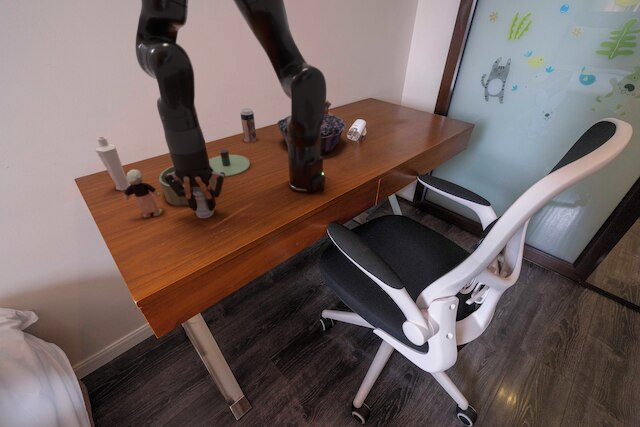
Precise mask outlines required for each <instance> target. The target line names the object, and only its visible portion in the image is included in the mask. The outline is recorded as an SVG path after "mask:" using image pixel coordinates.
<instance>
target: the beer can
mask: <svg viewBox="0 0 640 427" xmlns="http://www.w3.org/2000/svg"><path fill="white" fill-rule="evenodd" d="M239 114H240V120H241V128H242V134H243V140H244V142H247V143H253V142H256V141H257V131H256V123H255V116H254V114H255V113H254V111H253V109H252V108H243V109H241V110H240V113H239Z"/></svg>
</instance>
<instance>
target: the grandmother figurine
mask: <svg viewBox="0 0 640 427" xmlns="http://www.w3.org/2000/svg"><path fill="white" fill-rule="evenodd" d="M126 178H127V181H128V182H129V183H130V186H129V187H128V188H127V189H125V190H124V191H123V194H124V197H123V198H124V200H125V201H128V200H130V196H132V195H134V197H135V201H136V203H137V206H138V207H139V209H140V211H141V213H142V216H143V218H144V219H148V218H150V217H151V216H153V217H159V216H160V215H161V214H162V213H163V209H162V208H159V206H158V204H157V202H156V201H155V199H154V196H153V195H155V197H156V198H159V197H161V193H160V192H159V191H158V190H157V189H156V188H155V187H154V186H152V185H151V184H149V183H147V182H143V174H142V172H141V171H140V170H138V169H130V170H129V171H128V172H127V174H126ZM152 194H153V195H152Z"/></svg>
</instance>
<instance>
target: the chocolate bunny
mask: <svg viewBox="0 0 640 427" xmlns="http://www.w3.org/2000/svg"><path fill="white" fill-rule="evenodd" d="M331 106H332V103H331V102H330V101H329V100H328V99H326V105H325V114H329V115H334V114H333V113H332V112H331V111H329V109H330V107H331Z"/></svg>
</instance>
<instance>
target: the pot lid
mask: <svg viewBox="0 0 640 427" xmlns="http://www.w3.org/2000/svg"><path fill="white" fill-rule="evenodd" d="M209 163H210V165H212V166H213V168H214V169H215V172H217V173H221V172H224V173H225V177H224V178H228V177H233V176H237V175H240V174H243V173H245V172H246V171H247V170H249V168H250V166H251V162H250V160H249V158H247V157H245V156H244V155H239V154H230V152H229V149H226V148H225V149H224V148H223V149H220V150H219V155H217V156H214V157H211V158H209Z"/></svg>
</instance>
